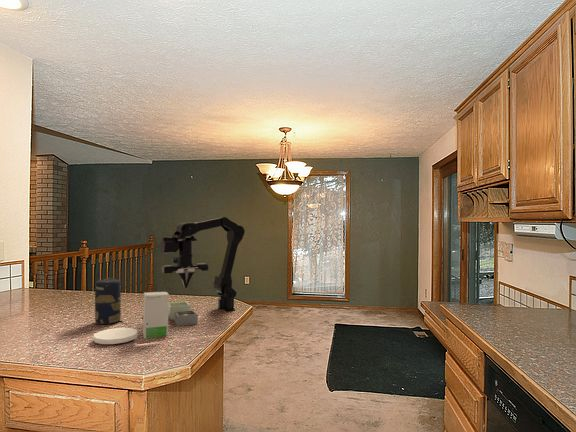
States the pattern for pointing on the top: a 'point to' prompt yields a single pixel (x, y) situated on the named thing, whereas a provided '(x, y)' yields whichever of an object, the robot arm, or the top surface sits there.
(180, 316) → the grey open box
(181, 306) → the pale green hollow box
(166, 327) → the skincare box
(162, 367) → the top surface
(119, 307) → the canister
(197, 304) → the top surface
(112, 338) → the plastic lid
